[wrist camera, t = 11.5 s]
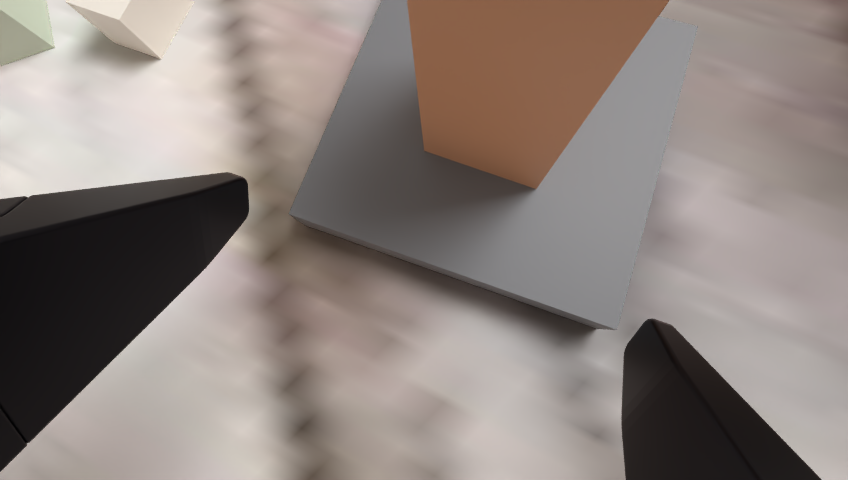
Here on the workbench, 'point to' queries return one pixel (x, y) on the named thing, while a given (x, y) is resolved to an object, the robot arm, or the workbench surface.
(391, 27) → the charcoal board
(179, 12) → the off-white brick
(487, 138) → the terracotta brick
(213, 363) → the workbench surface
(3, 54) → the sage brick
